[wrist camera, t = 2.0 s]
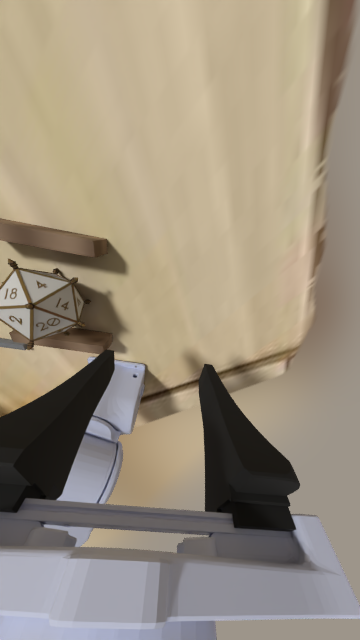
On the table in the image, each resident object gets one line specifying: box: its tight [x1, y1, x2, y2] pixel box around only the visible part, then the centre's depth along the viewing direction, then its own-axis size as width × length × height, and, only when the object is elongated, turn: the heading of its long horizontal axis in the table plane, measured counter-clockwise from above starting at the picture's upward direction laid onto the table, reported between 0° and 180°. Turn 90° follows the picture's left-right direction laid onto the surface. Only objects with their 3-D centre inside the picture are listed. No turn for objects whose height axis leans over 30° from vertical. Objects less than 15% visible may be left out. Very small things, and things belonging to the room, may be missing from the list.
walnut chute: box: [0, 219, 112, 354], centre depth 19 cm, size 12×14×3 cm
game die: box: [0, 259, 91, 350], centre depth 17 cm, size 9×8×10 cm
